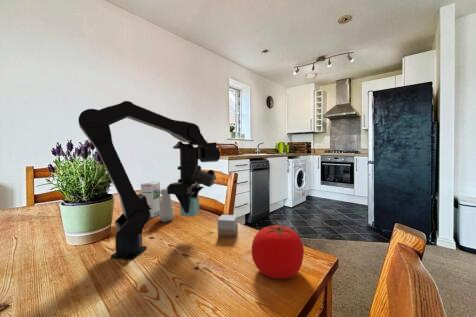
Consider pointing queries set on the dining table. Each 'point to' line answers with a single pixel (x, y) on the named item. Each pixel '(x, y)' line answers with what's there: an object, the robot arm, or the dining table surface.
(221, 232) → the tower lower
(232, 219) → the tower upper
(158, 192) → the syrup box
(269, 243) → the tomato
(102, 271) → the dining table surface
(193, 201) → the teal block
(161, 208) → the salt shaker
